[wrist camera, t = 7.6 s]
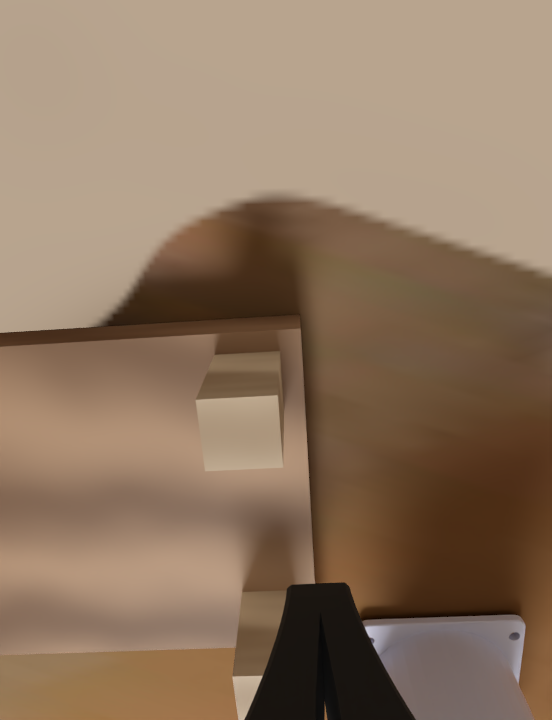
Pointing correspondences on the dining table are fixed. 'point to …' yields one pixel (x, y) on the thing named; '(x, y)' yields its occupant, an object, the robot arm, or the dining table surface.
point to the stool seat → (153, 488)
